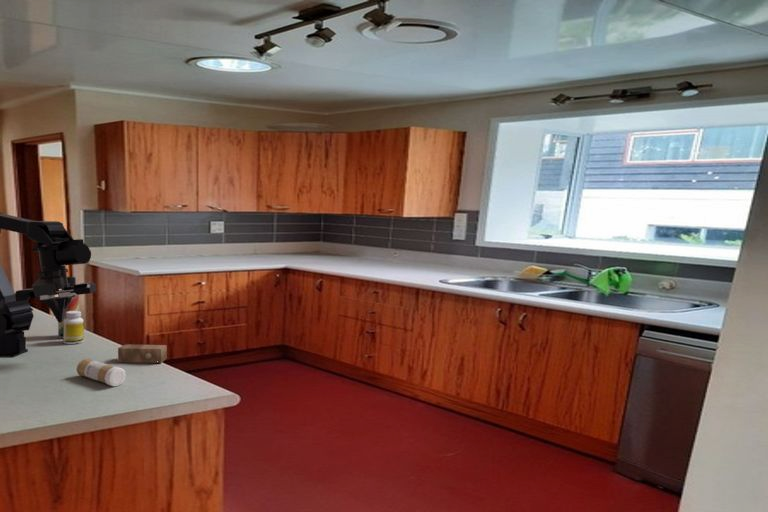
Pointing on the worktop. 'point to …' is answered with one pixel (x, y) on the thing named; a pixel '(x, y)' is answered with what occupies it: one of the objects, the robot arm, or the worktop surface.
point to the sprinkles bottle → (101, 372)
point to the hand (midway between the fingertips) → (60, 322)
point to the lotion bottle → (69, 306)
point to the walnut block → (142, 353)
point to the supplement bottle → (73, 328)
